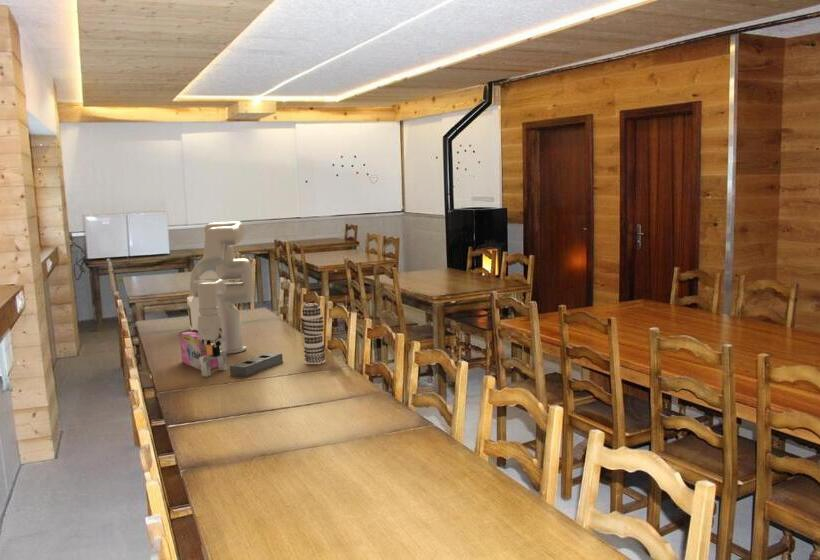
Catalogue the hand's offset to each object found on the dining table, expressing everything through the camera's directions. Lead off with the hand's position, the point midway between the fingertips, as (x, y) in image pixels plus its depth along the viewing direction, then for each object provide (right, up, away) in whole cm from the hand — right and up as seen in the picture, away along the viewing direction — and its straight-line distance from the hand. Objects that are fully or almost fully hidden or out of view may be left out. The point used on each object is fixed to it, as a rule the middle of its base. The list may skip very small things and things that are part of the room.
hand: (213, 355), depth 308 cm
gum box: (-10, -6, +17) cm, 20 cm away
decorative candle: (+41, -4, +9) cm, 42 cm away
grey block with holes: (+17, -6, +3) cm, 19 cm away
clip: (0, -7, +1) cm, 7 cm away
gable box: (-29, +4, +93) cm, 97 cm away
